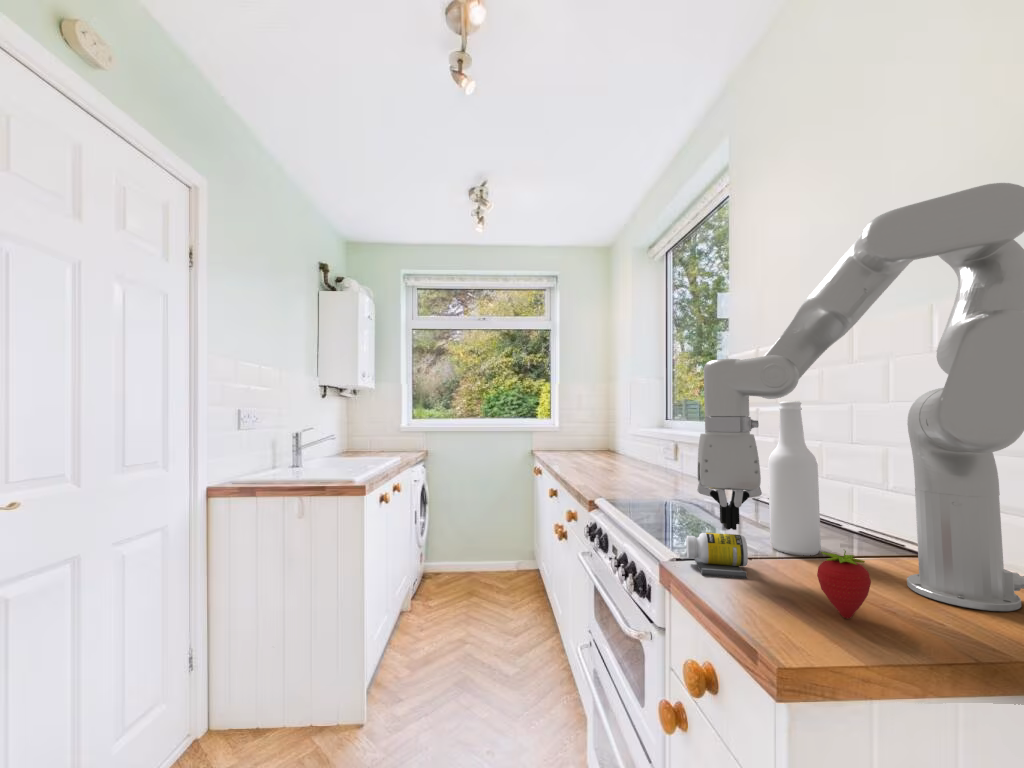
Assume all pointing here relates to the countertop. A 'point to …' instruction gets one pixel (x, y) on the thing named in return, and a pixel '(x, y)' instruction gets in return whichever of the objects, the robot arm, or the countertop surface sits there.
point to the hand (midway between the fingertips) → (729, 527)
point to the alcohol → (793, 488)
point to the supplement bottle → (718, 549)
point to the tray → (720, 570)
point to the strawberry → (844, 582)
